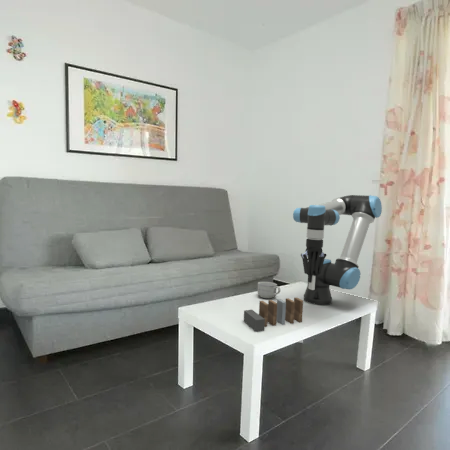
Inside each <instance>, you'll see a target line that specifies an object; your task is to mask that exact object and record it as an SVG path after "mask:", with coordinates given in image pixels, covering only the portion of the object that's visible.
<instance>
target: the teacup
mask: <svg viewBox="0 0 450 450" xmlns="http://www.w3.org/2000/svg"><path fill="white" fill-rule="evenodd" d="M277 290H278V291H277ZM280 292H281V288H280V286H278V284H277V283H275V282H271V281H258V282H257V295H258V296H259V297H260V298H261V299H268V300H270V299H273V298H274V297H276V296H277V295H279V294H280Z"/></svg>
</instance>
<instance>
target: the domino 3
mask: <svg viewBox="0 0 450 450" xmlns="http://www.w3.org/2000/svg"><path fill="white" fill-rule="evenodd" d="M276 303H277V319H276V323H278V324H280V325H281V326H283V325H286V320H285V313H286V301H284V300H282V299H281V298H277V299H276Z"/></svg>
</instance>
